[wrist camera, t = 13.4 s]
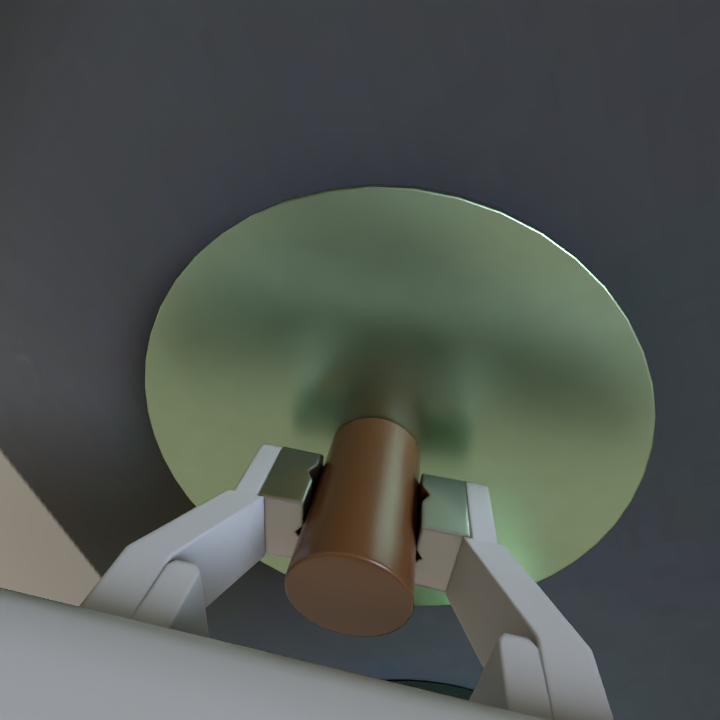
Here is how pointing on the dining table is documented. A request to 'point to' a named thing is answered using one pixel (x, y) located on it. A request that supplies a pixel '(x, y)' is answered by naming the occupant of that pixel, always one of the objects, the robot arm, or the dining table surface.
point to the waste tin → (439, 688)
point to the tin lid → (402, 385)
